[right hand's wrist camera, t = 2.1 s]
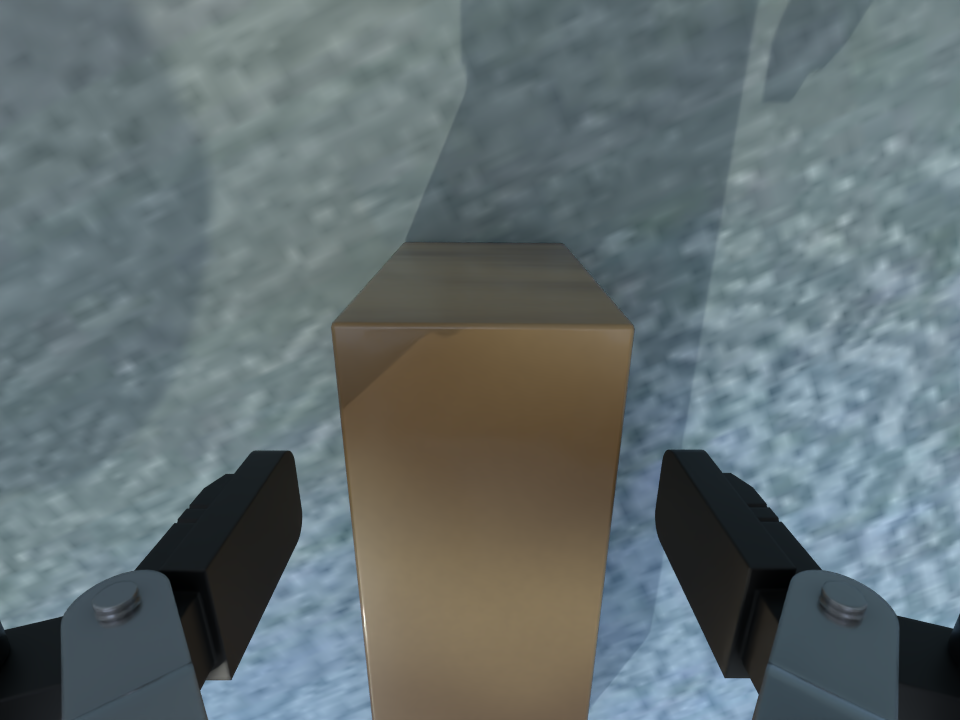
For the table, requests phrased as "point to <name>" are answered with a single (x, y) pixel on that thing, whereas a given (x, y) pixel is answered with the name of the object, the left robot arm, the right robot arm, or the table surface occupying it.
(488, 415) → the bar
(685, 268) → the table surface
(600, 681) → the table surface
